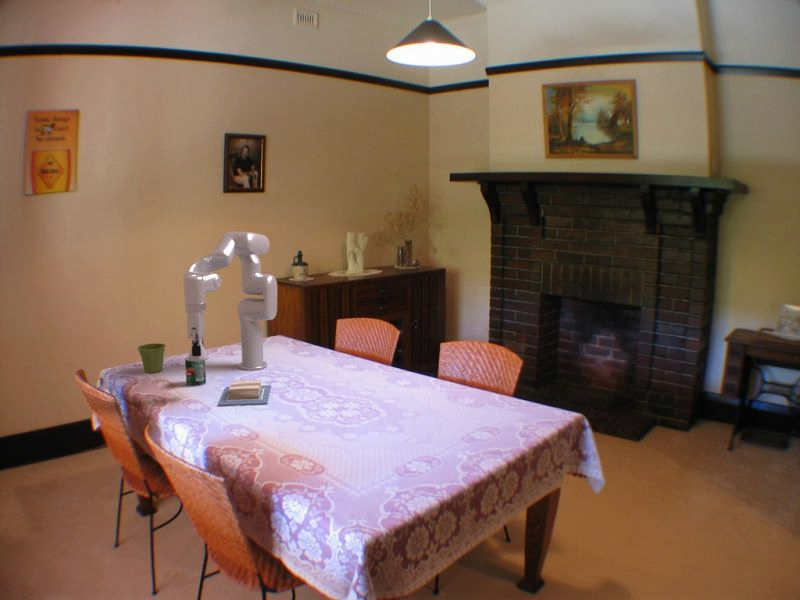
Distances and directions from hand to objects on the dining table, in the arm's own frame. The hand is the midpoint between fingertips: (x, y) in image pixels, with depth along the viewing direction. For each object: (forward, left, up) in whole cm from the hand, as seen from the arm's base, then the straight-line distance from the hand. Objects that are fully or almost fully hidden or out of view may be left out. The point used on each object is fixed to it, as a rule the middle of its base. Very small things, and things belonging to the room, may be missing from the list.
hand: (198, 353), depth 249 cm
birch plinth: (+2, +18, -17) cm, 25 cm away
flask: (0, 0, -3) cm, 3 cm away
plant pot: (-38, -26, -17) cm, 49 cm away
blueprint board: (+2, +18, -17) cm, 25 cm away
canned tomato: (-17, -4, -17) cm, 25 cm away
